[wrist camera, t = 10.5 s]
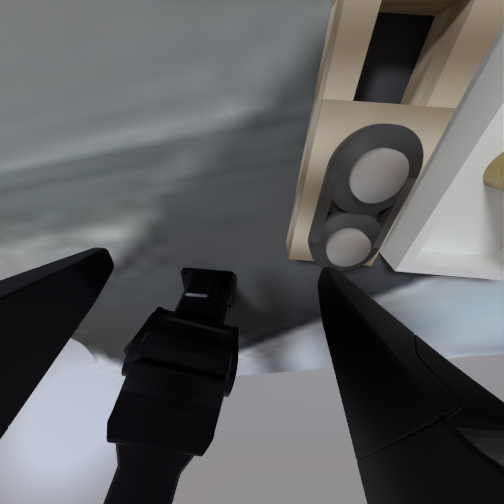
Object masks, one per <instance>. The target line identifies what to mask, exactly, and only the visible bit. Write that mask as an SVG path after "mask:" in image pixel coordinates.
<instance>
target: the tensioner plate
mask: <svg viewBox="0 0 504 504" xmlns="http://www.w3.org/2000/svg"><path fill="white" fill-rule="evenodd" d="M378 12H382V13H397V14H412V15H427V16H435V18H434V20H433V23H432V25H431V28H430V30H429V33H428V35H427V38H426V40H425V43H424V45H423V48H422V50H421V53H420V55H419V58H418V60H417V63H416V65H415V68H414V70H413V73H412V75H411V78H410V80H409V83H408V85H407V88H406V90H405V93H404V95H403V98H402V100H401V103H400V104H389V103H376V102H362V101H353V99H354V95H355V92H356V88H357V85H358V81H359V78H360V74H361V71H362V67H363V64H364V60H365V57H366V53H367V50H368V46H369V43H370V39H371V36H372V32H373V29H374V25H375V22H376V18H377V15H378ZM503 21H504V0H333V2H332V7H331V13H330V18H329V23H328V28H327V33H326V39H325V44H324V49H323V54H322V59H321V64H320V70H319V75H318V80H317V85H316V90H315V96H314V101H313V106H312V111H311V116H310V122H309V127H308V132H307V137H306V142H305V148H304V153H303V158H302V163H301V168H300V173H299V179H298V184H297V189H296V194H295V199H294V205H293V210H292V215H291V220H290V225H289V231H288V236H287V241H286V244H287V251H288V257H289V259H294V260H306V261H315V262H316V263H317V264H318V265H319V266H320V267H322V268H324V267H333V268H335V269H337V270H338V271H347V270H351V269H354V268H357V267H359V266H361V265H365V266H372V264H373V262H374V260H375V258H376V257H377V255H378V253H379V251H380V249H381V247H382V245H383V244H384V242H385V240H386V238H387V236H388V234H389V232H390V231H391V229H392V227H393V225H394V223H395V221H396V219H397V218H398V216H399V214H400V212H401V210H402V208H403V206H404V205H405V203H406V201H407V199H408V197H409V195H410V193H411V192H412V190H413V188H414V186H415V184H416V182H417V180H418V179H419V177H420V175H421V173H422V171H423V169H424V167H425V166H426V164H427V162H428V160H429V158H430V156H431V154H432V153H433V151H434V149H435V147H436V145H437V143H438V142H439V140H440V138H441V136H442V134H443V132H444V130H445V129H446V127H447V125H448V123H449V121H450V119H451V117H452V116H453V114H454V112H455V110H456V108H457V106H458V104H459V103H460V101H461V99H462V97H463V95H464V93H465V91H466V90H467V88H468V86H469V84H470V82H471V80H472V78H473V77H474V75H475V73H476V71H477V69H478V67H479V65H480V64H481V62H482V60H483V58H484V56H485V54H486V52H487V51H488V49H489V47H490V45H491V43H492V41H493V39H494V38H495V36H496V34H497V32H498V30H499V28H500V26H501V25H502V23H503Z"/></svg>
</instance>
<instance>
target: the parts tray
mask: <svg viewBox="0 0 504 504" xmlns="http://www.w3.org/2000/svg"><path fill="white" fill-rule="evenodd" d="M503 152H504V21H503V23H502V25H501V26H500V28H499V30H498V32H497V34H496V36H495V38H494V39H493V41H492V43H491V45H490V47H489V49H488V51H487V52H486V54H485V56H484V58H483V60H482V62H481V64H480V65H479V67H478V69H477V71H476V73H475V75H474V77H473V78H472V80H471V82H470V84H469V86H468V88H467V90H466V91H465V93H464V95H463V97H462V99H461V101H460V103H459V104H458V106H457V108H456V110H455V112H454V114H453V116H452V117H451V119H450V121H449V123H448V125H447V127H446V129H445V130H444V132H443V134H442V136H441V138H440V140H439V142H438V143H437V145H436V147H435V149H434V151H433V153H432V154H431V156H430V158H429V160H428V162H427V164H426V166H425V167H424V169H423V171H422V173H421V175H420V177H419V179H418V180H417V182H416V184H415V186H414V188H413V190H412V192H411V193H410V195H409V197H408V199H407V201H406V203H405V205H404V206H403V208H402V210H401V212H400V214H399V216H398V218H397V219H396V221H395V223H394V225H393V227H392V229H391V231H390V232H389V234H388V236H387V238H386V240H385V242H384V244H383V245H382V247H381V249H380V251H379V252H380V254H381V255H382V256H383V257H384V258H385V260H386V261H387V262H388V263H389V265H390V266H391V267H392V268H393V269H394V271H399V272H411V273H423V274H434V275H446V276H458V277H470V278H482V279H494V280H504V191H502V190H499V189H496V188H492V187H489V186H487V185H486V184H485V183H484V182H483V174H484V172H485V170H486V168H487V166H488V165H489V164H490V163H491V162H492V161H493V160H494V159H495V158H496V157H497V156H498V155H500V154H501V153H503Z"/></svg>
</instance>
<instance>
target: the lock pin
mask: <svg viewBox="0 0 504 504" xmlns="http://www.w3.org/2000/svg"><path fill="white" fill-rule="evenodd" d="M483 182H484V183H485V184H486V185H487V186H489V187H492V188H496V189H499V190H502V191H504V152H503V153H501V154H500V155H498V156H497V157H496V158H495V159H494V160H493V161H492V162H491V163H490V164H489V165H488V166H487V168H486V170H485V172H484V174H483Z"/></svg>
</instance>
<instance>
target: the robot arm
mask: <svg viewBox="0 0 504 504" xmlns="http://www.w3.org/2000/svg"><path fill="white" fill-rule="evenodd" d="M113 269H114V263H113V260H112V258H111V256H110V254H109V252H108V250H107V249H105V248H92V249H89V250H86V251H83V252H80V253H77V254H74V255H72V256H69V257H66V258H63V259H60V260H57V261H55V262H52V263H49V264H46V265H43V266H40V267H37V268H35V269H32V270H29V271H26V272H23V273H20V274H17V275H15V276H12V277H9V278H6V279H3V280H0V439H1V437H2V436H3V435H4V433H5V432H6V430H7V429H8V426H9V425H10V424H11V423H12V421H13V420H14V418H15V417H16V415H17V414H18V412H19V411H20V410H21V408H22V407H23V405H24V404H25V402H26V401H27V399H28V398H29V397H30V395H31V394H32V392H33V391H34V389H35V388H36V387H37V385H38V384H39V382H40V381H41V379H42V378H43V376H44V375H45V374H46V372H47V371H48V369H49V368H50V366H51V365H52V363H53V362H54V361H55V359H56V358H57V356H58V355H59V353H60V352H61V350H62V349H63V347H64V346H65V345H66V343H67V342H68V340H69V339H70V337H71V336H72V335H73V333H74V332H75V330H76V329H77V327H78V326H79V324H80V323H81V322H82V320H83V319H84V317H85V316H86V314H87V313H88V311H89V310H90V309H91V307H92V306H93V304H94V303H95V301H96V300H97V298H98V296H99V294H100V293H101V291H102V289H103V287H104V285H105V284H106V282H107V280H108V278H109V276H110V275H111V273H112V271H113ZM184 271H185V272H184ZM181 275H182V280H183V285H184V292H183V294H182V296H181V298H180V300H179V302H178V305H177V307H176V309H175V311H170V310H166V309H164V308H162V307H158V308H157V309H156V310H155V312H154V313H152V314H151V315H150V317H149V318H148V320H147V321H146V322H145V324H144V325H143V326H142V328H141V329H140V330H139V332H138V333H137V334H136V336H135V337H134V338H133V340H132V341H131V342H130V343H128V344H127V346H126V347H125V349H124V355H125V361H124V364H123V368H122V376H126V378H125V380H124V383H123V385H122V388H121V391H120V393H119V396H118V398H117V401H116V403H115V406H114V408H113V411H112V413H111V415H110V417H109V419H108V422H107V442H110V443H116V451H117V462H118V466H117V469H116V472H115V475H114V478H113V480H112V483H111V485H110V488H109V490H108V493H107V496H106V498H105V501H104V504H172V502H173V498H174V495H175V491H176V487H177V484H178V480H179V477H180V474H181V472H182V471H183V470H184V469H185V467H186V466H187V465H188V463H189V462H190V461H191V460H192V458H193V457H194V456H203V454H204V453H205V452H206V450H207V448H208V447H209V445H210V444H211V442H212V440H213V437H214V433H215V428H216V424H217V421H218V417H219V413H220V409H221V405H222V401H223V398H224V396H225V397H228V396H229V395H230V392H231V390H232V387H233V384H234V380H235V376H236V371H237V365H238V327H235V326H233V327H231V326H228V325H224V321H225V316H226V311H227V308H232V307H233V292H234V274H233V273H232V272H229V271H218V270H206V269H194V268H183V269H182V271H181ZM228 275H230V276H228ZM318 294H319V302H320V310H321V317H322V322H323V327H324V331H325V335H326V339H327V343H328V347H329V351H330V355H331V359H332V363H333V367H334V371H335V375H336V379H337V383H338V386H339V391H340V395H341V399H342V403H343V407H344V411H345V415H346V419H347V423H348V427H349V431H350V435H351V439H352V443H353V447H354V451H355V455H356V459H357V460H358V462H357V463H358V468H359V472H360V476H361V480H362V484H363V488H364V492H365V496H366V500H367V504H504V402H503V401H501V400H500V399H498V398H497V397H496V396H495V395H493V394H492V393H490V392H489V391H488V390H487V389H485V388H484V387H482V386H481V385H480V384H478V383H477V382H476V381H474V380H473V379H472V378H470V377H469V376H468V375H466V374H465V373H464V372H462V371H461V370H460V369H458V368H457V367H456V366H454V365H453V364H452V363H450V362H449V361H448V360H447V359H445V358H444V357H443V356H442V355H440V354H439V353H438V352H437V351H435V350H434V349H433V348H432V347H430V346H429V345H428V344H427V343H425V342H424V341H423V340H422V339H421V338H419V337H418V336H417V335H414V333H413V332H412V331H411V330H410V329H408V328H407V327H406V326H405V325H403V324H402V323H401V322H400V321H399V320H397V319H396V318H395V317H394V316H393V315H391V314H390V313H389V312H388V311H386V310H385V309H384V308H383V307H382V306H380V305H379V304H378V303H377V302H376V301H374V300H373V299H372V298H371V297H369V296H368V295H367V294H366V293H365V292H363V291H362V290H361V289H360V288H359V287H357V286H356V285H355V284H354V283H352V282H351V281H350V280H349V279H348V278H346V277H345V276H344V275H343V274H341V273H340V272H339V271H338V270H337V269H335V268H333V267H324V268H323V269H322V271H321V274H320V277H319V280H318Z"/></svg>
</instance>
